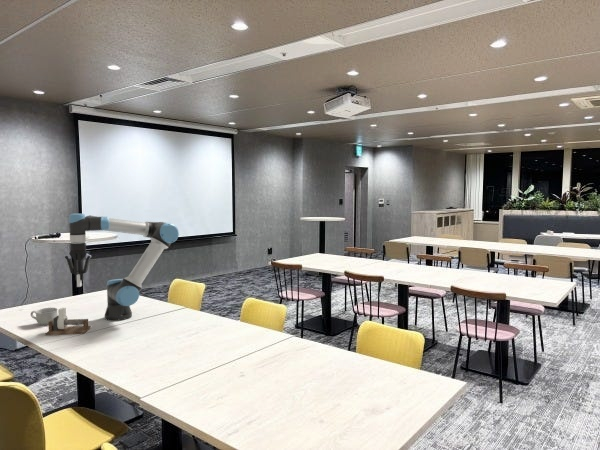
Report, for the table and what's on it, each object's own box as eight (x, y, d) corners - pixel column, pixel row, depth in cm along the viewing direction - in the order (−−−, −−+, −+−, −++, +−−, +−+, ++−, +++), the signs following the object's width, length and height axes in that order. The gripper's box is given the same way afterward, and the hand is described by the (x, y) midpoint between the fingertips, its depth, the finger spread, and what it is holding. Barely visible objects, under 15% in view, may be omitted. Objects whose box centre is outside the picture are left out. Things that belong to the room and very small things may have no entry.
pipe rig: (91, 327, 237) (90, 315, 237) (83, 333, 226) (83, 321, 226) (54, 328, 235) (54, 317, 234) (45, 335, 224) (44, 323, 223)
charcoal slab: (62, 326, 233) (61, 315, 232) (57, 330, 226) (56, 318, 226) (59, 326, 233) (58, 315, 232) (53, 330, 226) (53, 318, 226)
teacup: (62, 321, 248) (61, 307, 248) (49, 327, 238) (49, 312, 237) (39, 320, 250) (39, 307, 249) (26, 326, 239) (25, 312, 238)
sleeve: (67, 325, 233) (67, 307, 232) (63, 329, 227) (62, 310, 226) (61, 326, 232) (61, 307, 232) (57, 329, 227) (56, 310, 226)
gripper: (93, 241, 233) (94, 284, 234) (67, 241, 231) (69, 285, 232) (88, 243, 225) (89, 287, 227) (62, 243, 223) (63, 288, 225)
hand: (79, 286), depth 230 cm, fingers closed
